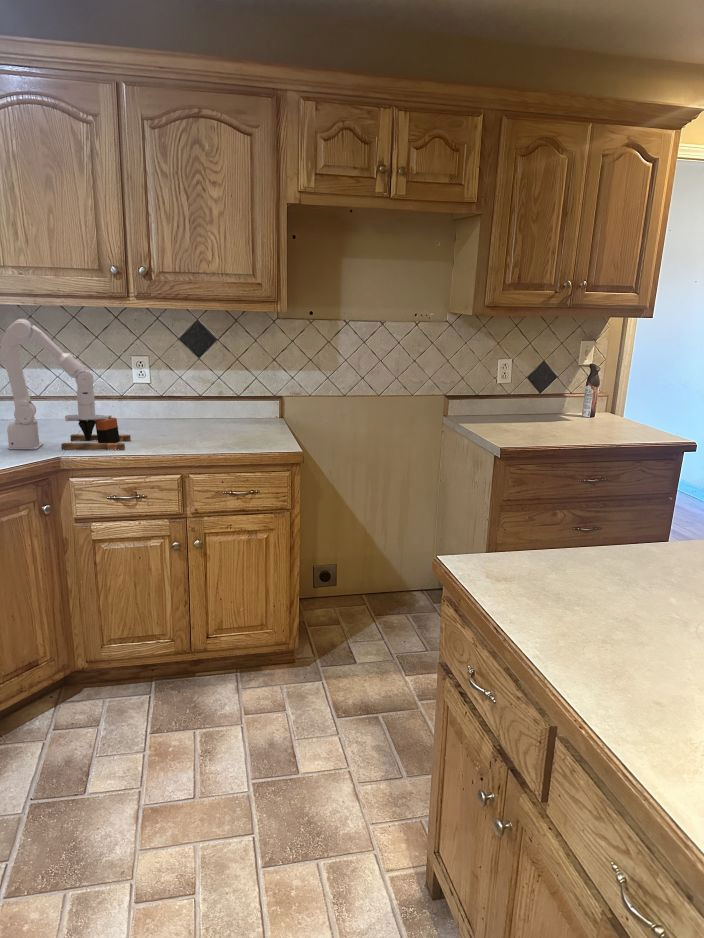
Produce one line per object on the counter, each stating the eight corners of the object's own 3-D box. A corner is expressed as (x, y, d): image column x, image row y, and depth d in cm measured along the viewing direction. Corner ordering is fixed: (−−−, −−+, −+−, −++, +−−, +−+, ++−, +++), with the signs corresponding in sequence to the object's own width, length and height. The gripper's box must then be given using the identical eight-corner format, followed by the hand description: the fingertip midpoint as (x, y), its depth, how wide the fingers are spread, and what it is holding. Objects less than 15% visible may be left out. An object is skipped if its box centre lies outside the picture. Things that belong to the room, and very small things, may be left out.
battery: (120, 442, 250) (116, 415, 248) (106, 445, 244) (102, 418, 242) (111, 441, 252) (107, 415, 250) (97, 445, 246) (93, 418, 244)
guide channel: (61, 449, 238) (61, 444, 237) (71, 439, 252) (71, 434, 252) (123, 450, 241) (123, 444, 241) (130, 439, 255) (130, 434, 255)
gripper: (61, 405, 237) (64, 443, 241) (105, 406, 239) (107, 443, 243) (66, 401, 244) (69, 438, 248) (108, 402, 246) (110, 438, 250)
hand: (88, 440), depth 246 cm, fingers closed
